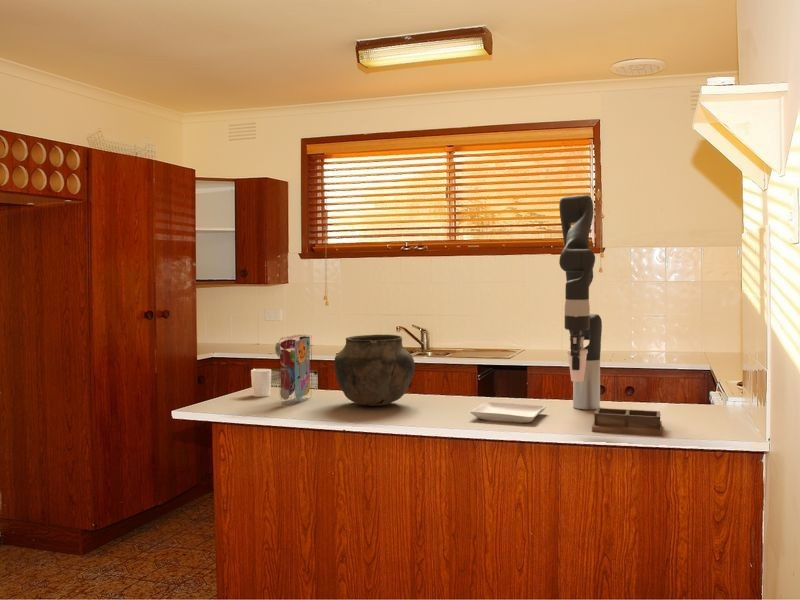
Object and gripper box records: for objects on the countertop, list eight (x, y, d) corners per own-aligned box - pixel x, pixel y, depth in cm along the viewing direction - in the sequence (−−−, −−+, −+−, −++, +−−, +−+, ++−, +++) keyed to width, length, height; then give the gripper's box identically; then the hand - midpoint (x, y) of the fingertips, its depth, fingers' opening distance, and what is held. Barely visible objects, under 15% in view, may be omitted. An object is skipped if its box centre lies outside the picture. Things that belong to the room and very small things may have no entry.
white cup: (250, 394, 297) (249, 369, 297) (270, 393, 299) (269, 368, 299) (252, 397, 290) (252, 371, 289) (272, 396, 292) (272, 370, 291)
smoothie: (584, 378, 235) (584, 334, 234) (590, 382, 229) (590, 336, 228) (564, 379, 235) (564, 334, 234) (569, 382, 229) (569, 337, 228)
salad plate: (546, 414, 256) (546, 404, 256) (533, 426, 236) (533, 415, 236) (486, 410, 264) (486, 400, 264) (468, 421, 244) (468, 411, 244)
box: (283, 409, 264) (283, 340, 263) (267, 408, 266) (267, 340, 265) (312, 398, 288) (311, 334, 287) (297, 397, 290) (297, 334, 289)
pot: (331, 414, 256) (331, 341, 255) (336, 398, 287) (335, 333, 286) (417, 413, 257) (417, 340, 256) (412, 397, 288) (412, 332, 287)
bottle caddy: (595, 421, 242) (595, 406, 241) (661, 425, 235) (661, 409, 235) (591, 431, 227) (592, 415, 227) (661, 435, 221) (662, 419, 221)
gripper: (567, 312, 239) (567, 365, 240) (561, 315, 225) (561, 371, 226) (591, 312, 236) (591, 366, 237) (587, 315, 223) (587, 372, 224)
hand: (576, 368), depth 232 cm, fingers closed on smoothie, 5 cm apart
